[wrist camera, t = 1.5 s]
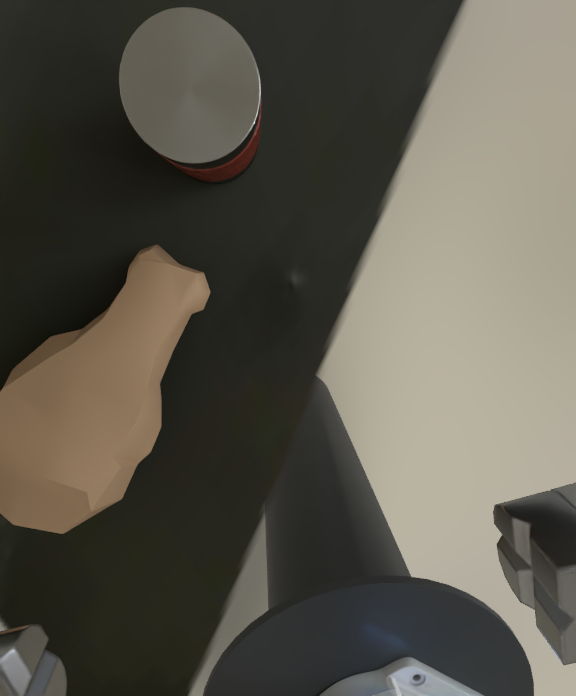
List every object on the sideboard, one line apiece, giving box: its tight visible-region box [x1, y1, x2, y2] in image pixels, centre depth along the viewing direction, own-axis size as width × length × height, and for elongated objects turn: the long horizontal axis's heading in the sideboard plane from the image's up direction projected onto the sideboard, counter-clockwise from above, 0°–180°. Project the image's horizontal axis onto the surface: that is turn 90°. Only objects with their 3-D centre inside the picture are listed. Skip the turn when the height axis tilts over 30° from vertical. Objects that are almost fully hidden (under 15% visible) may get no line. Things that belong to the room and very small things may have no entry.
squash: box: [0, 244, 210, 534], centre depth 30 cm, size 11×20×9 cm, turn 148°
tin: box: [119, 7, 261, 184], centre depth 25 cm, size 6×6×11 cm
